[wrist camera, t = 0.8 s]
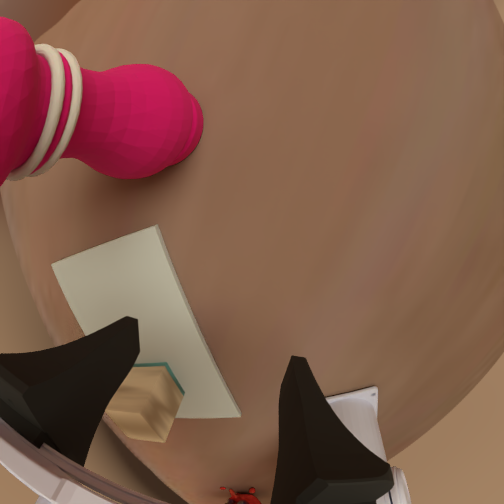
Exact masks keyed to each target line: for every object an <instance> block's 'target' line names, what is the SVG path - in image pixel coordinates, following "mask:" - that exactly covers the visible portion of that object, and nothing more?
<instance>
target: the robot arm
mask: <svg viewBox="0 0 504 504" xmlns="http://www.w3.org/2000/svg"><path fill="white" fill-rule="evenodd" d="M139 353H140V341H139V327H138V319H136V318H133V317H129V316H125V317H123V318H121V319H119V320H117V321H115V322H113V323H111V324H110V325H108V326H106V327H104V328H102V329H100V330H98V331H96V332H94V333H91V334H89V335H87V336H85V337H82V338H80V339H78V340H75V341H73V342H70V343H67V344H64V345H61V346H58V347H54V348H50V349H46V350H41V351H35V352H28V353H17V354H16V353H11V354H3V353H1V354H0V463H1V464H2V465H3V466H4V467H5V468H6V469H7V470H8V471H9V472H11V473H12V474H13V475H14V476H15V477H16V478H18V479H19V480H20V481H21V482H22V483H24V484H25V485H26V486H28V487H29V488H30V489H31V490H33V491H34V492H35V493H37V494H38V495H39V498H38V500H37V501H36V503H35V504H118V503H116V502H113V501H111V500H109V499H107V498H105V497H103V496H101V495H99V494H97V493H95V492H93V491H91V490H89V489H87V488H85V487H83V486H82V484H83V485H85V486H87V487H89V488H91V489H93V490H95V491H97V492H99V493H101V494H103V495H105V496H107V497H109V498H111V499H113V500H115V501H118V502H120V503H122V504H170V503H166V502H163V501H160V500H157V499H154V498H151V497H148V496H146V495H143V494H141V493H138V492H135V491H133V490H130V489H128V488H125V487H123V486H121V485H119V484H116V483H114V482H112V481H110V480H108V479H105V478H104V477H102V476H99V475H97V474H96V473H93V472H92V471H90V470H88V469H86V468H84V464H85V460H86V457H87V454H88V451H89V448H90V444H91V442H92V439H93V437H94V434H95V431H96V429H97V427H98V425H99V422H100V420H101V418H102V416H103V414H104V412H105V410H106V408H107V406H108V404H109V402H110V400H111V399H112V397H113V396H114V394H115V393H116V391H117V390H118V388H119V387H120V385H121V384H122V382H123V381H124V380H125V378H126V377H127V375H128V374H129V372H130V371H131V369H132V368H133V366H134V364H135V362H136V360H137V357H138V355H139ZM377 407H378V389H377V387H375V386H373V387H369V388H366V389H362V390H358V391H354V392H350V393H345V394H341V395H336V396H332V397H327V398H325V397H324V395H323V393H322V391H321V389H320V387H319V386H318V384H317V382H316V380H315V378H314V376H313V374H312V371H311V369H310V367H309V365H308V362H307V360H306V358H304V357H298V356H291V359H290V362H289V365H288V367H287V370H286V373H285V376H284V379H283V381H282V384H281V389H280V397H279V451H278V460H277V468H276V474H275V481H274V487H273V493H272V498H271V503H270V504H411V500H410V494H409V490H408V486H407V482H406V479H405V476H404V473H403V471H402V469H400V468H397V467H396V466H393V467H390V464H388V463H387V461H386V456H385V451H384V447H383V443H382V438H381V434H380V430H379V426H378V422H377ZM74 479H75V480H74ZM77 481H78V482H77ZM79 482H80V483H82V484H80V483H79Z"/></svg>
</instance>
